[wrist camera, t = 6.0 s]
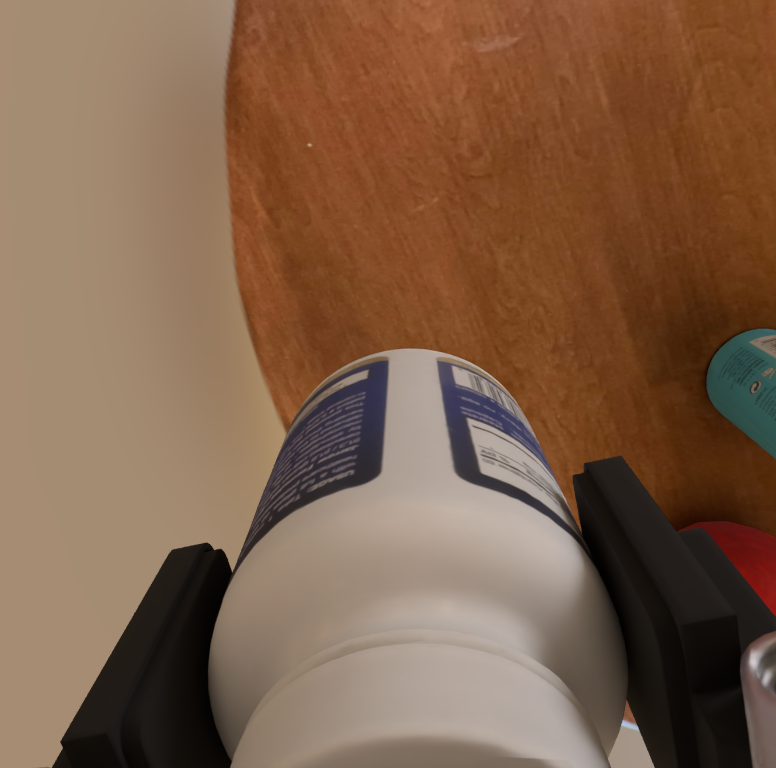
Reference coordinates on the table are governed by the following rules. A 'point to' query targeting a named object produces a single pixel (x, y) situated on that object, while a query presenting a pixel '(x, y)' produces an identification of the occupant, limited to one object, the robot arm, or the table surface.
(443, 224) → the table surface
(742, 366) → the tube
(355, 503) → the pill bottle
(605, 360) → the table surface
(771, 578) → the apple
